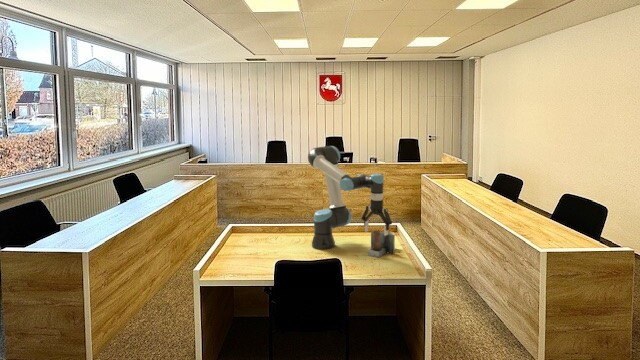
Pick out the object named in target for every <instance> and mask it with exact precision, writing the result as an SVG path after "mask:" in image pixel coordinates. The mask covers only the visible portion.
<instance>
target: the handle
mask: <svg viewBox="0 0 640 360" xmlns="http://www.w3.org/2000/svg"><path fill="white" fill-rule="evenodd" d="M372 231H373V240H374V250H375V251H380V232H381V230H378V229H375V230H372Z"/></svg>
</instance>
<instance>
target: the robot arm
mask: <svg viewBox="0 0 640 360" xmlns="http://www.w3.org/2000/svg"><path fill="white" fill-rule="evenodd" d="M340 159H341V153H340V150H339V149H338V147H336V146H334V145H326V146H319V147H317V146H316V147H314V148H312V149H311V150H309V152H308V154H307V160H308V161H307V162H308V163H309V164H310V165H311V166H312V167H313V168H314V169H315V170H320V171H321V172H323V173H324V178H325V185H326V190H327V194H328V199H329V200H328V201H329V207H328V208H324V209H319V210H317V211H315V212H314V214H313V227H314V229H313V230H314V231H313V232H314V234H313V238H312V241H311V247H312V248H313V249H317V250H330V249H332V248H335V247H336V241H335V239H334V236H333V229H335V228H341V227H344V226H347V225H349V224H350V222H351V220H352V212H351V210H350V209H349V208H348V207H347V205H346V204H345V203H344V202H343V201H344V200H343V195H342V191H343V192H350V191H354V190H359V189H364V188H365V189H370V205H369V204H368V205H366V206H365V210H364V212H363V214H362V217H361V221H362V220H363V224H364V227H365V229H364V232H365V233H366V232H369V228H370V227H369V224H370V223H369V222H370V221H369V219H370V218H371V217H372V215H376V216H379V217H380V219H382V221H383V223H384V226H383V227H384V229H383V231H384V236H386V235H388V231H389V230H390V225H392V224H393V222H392V219H391V216H390V214H389V210H388V208H384V207H383V206H384V182H385V181H384V174H381V173H372V174H371V175H367V174H364V173H363V174H362V173H361V174H358V175H357V176H350V175H349V174H348V173H346V172H345V171H343V170H342V169H340V168H339V167H338V166H339V162H340ZM341 190H342V191H341ZM369 211H370V212H369Z"/></svg>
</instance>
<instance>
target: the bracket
mask: <svg viewBox="0 0 640 360" xmlns="http://www.w3.org/2000/svg"><path fill="white" fill-rule="evenodd" d="M373 231H374V230H370V248H368V249H367V255H368V256H369V257H376V258H381V257H382V256H384V255H386V253H387V254H390V255H394V254H395V252H396V251H395V245H396V244H395V234H388V235H386V236H384V233H382V232H381V231H380V251H375V250H374V240H373Z"/></svg>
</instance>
